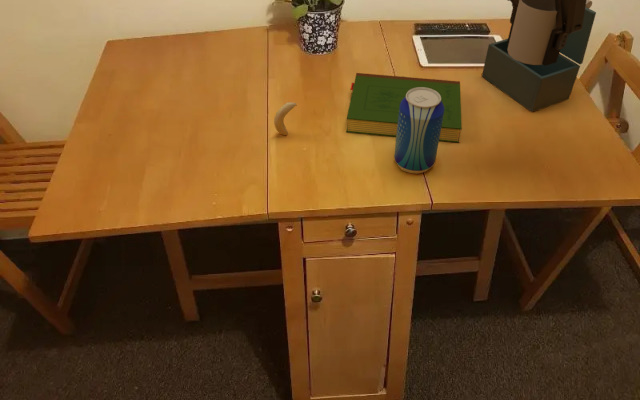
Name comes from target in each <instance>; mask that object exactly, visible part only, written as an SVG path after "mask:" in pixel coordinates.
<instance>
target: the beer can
mask: <svg viewBox="0 0 640 400" xmlns="http://www.w3.org/2000/svg"><path fill="white" fill-rule="evenodd" d="M443 115H444V105H443V103H442V101H441V96H440V94H439V93H438V92H437V91H435V90H433V89H430V88H425V87H418V88H413V89H411V90H409V91H408V92H407V93H406V97H405V98H404V99H403V100H402V101H401V103H400V108H399V117H398V125H397V134H396V137H395V143H394V153H393V159H394V162H395V163H396V164H397V166H398V167H399V168H400V169H401V170H402V171H404V172H406V173H409V174H413V175H414V174H415V175H417V174H422V173H425V172H428V170H430V169H431V168H432V167H434V165H435V164H436V160H437V155H438V154H437V153H438V148H439V144H440V143H439V142H440V141H439V138H440V132H441V126H442V121H443Z"/></svg>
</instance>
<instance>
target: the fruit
mask: <svg viewBox="0 0 640 400" xmlns="http://www.w3.org/2000/svg"><path fill="white" fill-rule="evenodd" d="M297 105H298V103H297V102H292V101H288V102H286V103H284V104H283V105H282V106H280V107H279V109H277V111H276V113H275V115H274V118H273V123H274V124H273V125H274V127H275V129H276V132H278V134H279V135H282V136H288V134H289V133H288V129H287V127H286V125H285V122H284V119H285V118H286V116H287V115H288V114H289V113H290V111H292V110H293V109H294V108H295V107H297Z"/></svg>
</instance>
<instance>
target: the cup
mask: <svg viewBox="0 0 640 400" xmlns="http://www.w3.org/2000/svg"><path fill="white" fill-rule="evenodd" d="M556 14H557V11H556V7H555V0H519V4H518V8H517V12H516V16H515V20H514V25H513V29H512V33H511V37H510V41H509V45H508V49H507V50H508V54H509V55H510V56H511V57H512V58H513V59H515V60H517V61H519V62H522V63H525V64H531V65H543V64H542V63H543V59H544V56H545V53H546V49H547V46H548V42H549V39H550V36H551V32H552V30H554V29H557V25H556Z"/></svg>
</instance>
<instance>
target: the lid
mask: <svg viewBox="0 0 640 400" xmlns="http://www.w3.org/2000/svg"><path fill="white" fill-rule="evenodd" d="M592 6H593V1H592V0H586V7H585V13H584V19H583V26H582V29H581V30H580V31H577V32H573V33H570V34H569V35H568V38H567V41H566V44H565V47H564V48H562V49H560V52H559V53H560V54H561V55H563V56H565V57H566V58H568V59H570V60H571V61H573V62H575V63H576V64H578V65H582V64H583V63H584V59H585V56H586V52H587V47H588V44H589V41H590V36H591V33H592V29H593V25H594V21H595V18H596V14H597V12H596V11H595V10H592V9H591V8H592Z"/></svg>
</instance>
